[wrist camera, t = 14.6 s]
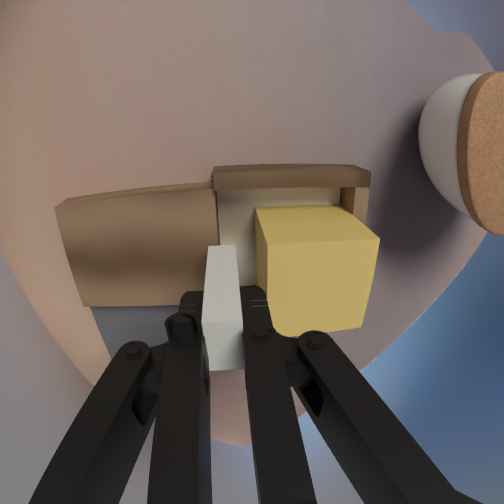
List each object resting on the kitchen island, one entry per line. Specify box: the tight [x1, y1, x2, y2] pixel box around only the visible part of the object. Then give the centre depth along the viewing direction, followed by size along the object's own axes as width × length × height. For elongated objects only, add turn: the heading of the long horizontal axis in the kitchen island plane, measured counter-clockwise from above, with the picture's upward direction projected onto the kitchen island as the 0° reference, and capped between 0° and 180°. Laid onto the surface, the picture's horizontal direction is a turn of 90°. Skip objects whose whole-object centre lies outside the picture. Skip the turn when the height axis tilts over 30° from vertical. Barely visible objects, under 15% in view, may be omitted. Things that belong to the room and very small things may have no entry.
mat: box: [90, 305, 180, 359], centre depth 23 cm, size 9×9×1 cm
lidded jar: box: [418, 72, 504, 235], centre depth 14 cm, size 11×11×9 cm
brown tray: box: [55, 164, 371, 306], centre depth 19 cm, size 10×20×2 cm, turn 91°
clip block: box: [255, 204, 380, 337], centre depth 18 cm, size 6×6×6 cm
